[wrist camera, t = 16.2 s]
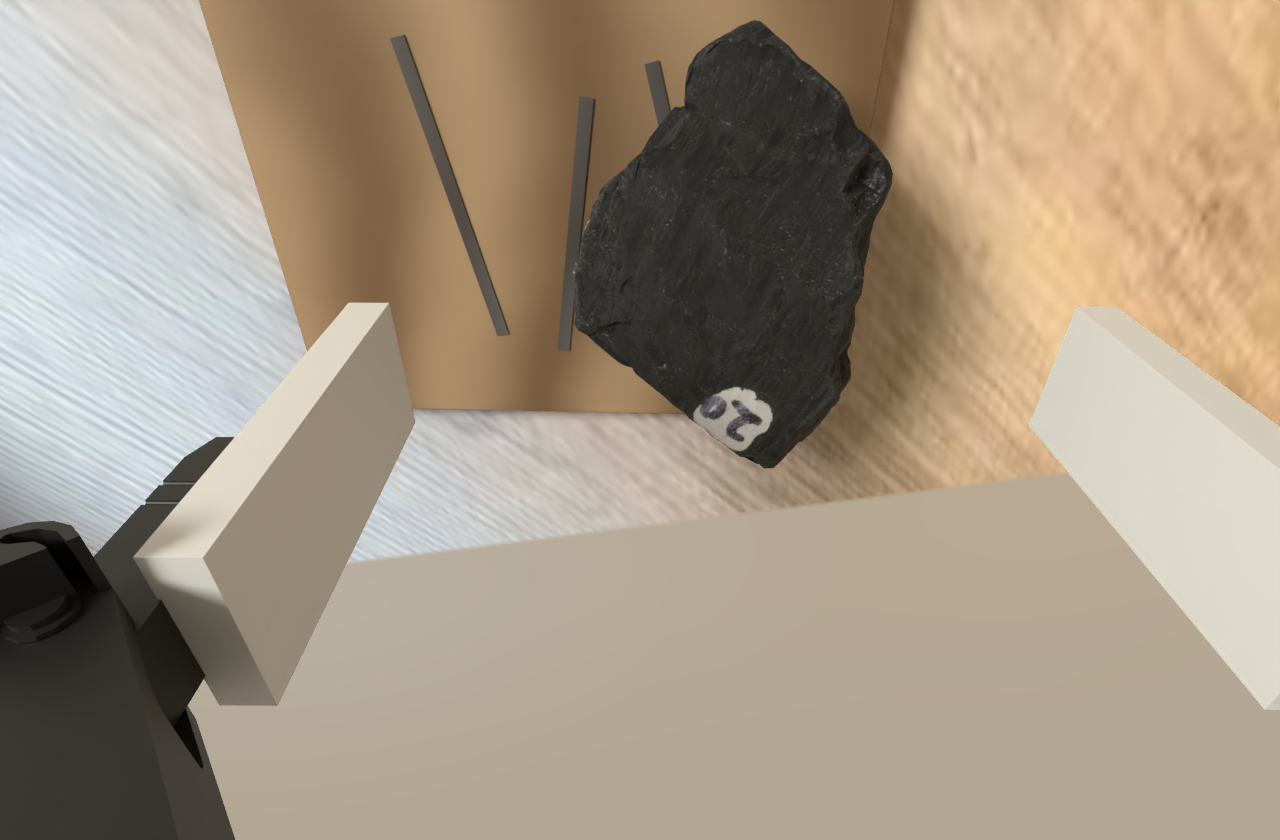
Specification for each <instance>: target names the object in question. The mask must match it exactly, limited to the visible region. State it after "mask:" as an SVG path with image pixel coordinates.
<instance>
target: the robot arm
mask: <svg viewBox="0 0 1280 840" xmlns="http://www.w3.org/2000/svg"><path fill="white" fill-rule="evenodd" d="M414 424H415V418H414V414H413V409H412V405H411V400H410V395H409V391H408V386H407V382H406V377H405V373H404V368H403V364H402V359H401V355H400V350H399V346H398V341H397V337H396V332H395V328H394V323H393V318H392V314H391V309H390V305H389V303H348V304H347V305H346V307H345V308H344V309H343V310H342V311H341V312H340V314H339V315H338V316H337V317H336V318H335V320H334V321H333V322H332V323H331V324H330V325H329V327H328V328H327V329H326V330H325V331H324V332H323V334H322V335H321V336H320V337H319V338H318V340H317V341H316V342H315V343H314V344H313V345H312V347H311V348H310V349H309V350H308V351H307V353H306V354H305V355H304V356H303V357H302V358H301V360H300V361H299V362H298V363H297V364H296V366H295V367H294V368H293V369H292V370H291V371H290V373H289V374H288V375H287V376H286V377H285V379H284V380H283V381H282V382H281V383H280V384H279V386H278V387H277V388H276V389H275V390H274V391H273V393H272V394H271V395H270V396H269V397H268V399H267V400H266V401H265V402H264V403H263V404H262V406H261V407H260V408H259V409H258V410H257V412H256V413H255V414H254V415H253V416H252V417H251V419H250V420H249V421H248V422H247V423H246V425H245V426H244V427H243V428H242V429H241V430H240V432H239V433H238V434H237V435H236V436H235V437H216V438H214V439H213V440H211V441H210V442H208V443H206V444H205V445H203V446H202V447H200V448H198V449H197V450H195V451H194V452H192V453H191V454H189V455H187V456H186V457H184V459H183V460H182V461H181V462H180V463H179V464H178V465H177V466H176V467H175V468H174V469H173V471H172V472H171V473H170V474H169V475H168V476H167V477H166V478H165V479H164V480H163V482H164V483H163V485H159V486H158V487H157V488H156V489H155V490H154V491H153V492H152V494H151V495H150V496H149V497H148V498H147V499H146V504H145V505H141V506H140V507H139V508H138V509H137V510H136V511H135V512H134V513H133V514H132V515H131V517H130V518H129V519H128V520H127V521H126V522H125V523H124V524H123V525H122V526H121V527H120V529H119V530H118V531H117V532H116V533H115V534H114V535H113V536H112V537H111V538H110V540H109V541H108V542H107V543H106V544H105V545H104V546H103V547H102V548H101V549H100V550H99V552H98V553H97V554H96V555H95V556H94V557H93V556H92V554H91V553H90V551H89V550H88V548H87V547H86V545H85V543H84V542H83V540H82V539H81V537H80V536H79V534H78V533H77V532H76V531H75V529H74V528H73V527H72V526H71V525H67V524H63V523H59V522H56V521H47V522H32V523H26V524H22V525H18V526H15V527H11V528H7V529H3V530H0V840H235V837H234V834H233V831H232V829H231V825H230V822H229V819H228V816H227V813H226V810H225V807H224V804H223V801H222V798H221V795H220V792H219V788H218V785H217V782H216V779H215V776H214V773H213V770H212V767H211V764H210V761H209V758H208V755H207V752H206V749H205V746H204V742H203V739H202V736H201V733H200V730H199V727H198V724H197V721H196V719H195V717H194V715H193V714H192V712H191V711H190V709H189V707H188V706H187V705H188V704H189V702H190V700H191V699H192V697H193V695H194V694H195V692H196V691H197V689H198V687H199V686H200V684H201V682H202V681H203V679H205V681H206V683H207V685H208V686H209V688H210V690H211V691H212V693H213V695H214V697H215V698H216V700H217V702H218V703H219V705H278V703H279V701H280V699H281V697H282V695H283V693H284V691H285V689H286V687H287V685H288V683H289V681H290V679H291V676H292V674H293V672H294V670H295V668H296V666H297V664H298V662H299V660H300V658H301V656H302V654H303V652H304V650H305V648H306V646H307V644H308V641H309V639H310V637H311V635H312V633H313V631H314V629H315V627H316V625H317V623H318V621H319V619H320V617H321V615H322V613H323V611H324V608H325V607H326V605H327V602H328V600H329V598H330V596H331V594H332V592H333V590H334V588H335V586H336V584H337V582H338V580H339V578H340V576H341V574H342V572H343V569H344V568H345V565H346V563H347V561H348V559H349V557H350V555H351V553H352V551H353V549H354V547H355V545H356V543H357V541H358V539H359V537H360V535H361V533H362V531H363V528H364V526H365V524H366V522H367V520H368V518H369V516H370V514H371V512H372V510H373V508H374V506H375V504H376V502H377V500H378V498H379V496H380V494H381V492H382V489H383V487H384V485H385V483H386V481H387V479H388V477H389V475H390V473H391V471H392V469H393V467H394V465H395V463H396V461H397V459H398V457H399V455H400V452H401V450H402V448H403V446H404V444H405V442H406V440H407V438H408V436H409V434H410V432H411V430H412V428H413V426H414ZM1029 426H1030V427H1031V428H1032V430H1033V431H1034V432H1035V433H1036V434H1037V436H1038V437H1039V438H1040V439H1041V440H1042V442H1043V443H1044V444H1045V445H1046V446H1047V448H1048V449H1049V450H1050V451H1051V452H1052V454H1053V455H1054V456H1055V457H1056V458H1057V460H1058V461H1059V462H1060V463H1061V465H1062V466H1063V467H1064V468H1065V469H1066V471H1067V472H1068V473H1069V474H1070V475H1071V477H1072V478H1073V479H1074V480H1075V481H1076V483H1077V484H1078V485H1079V486H1080V487H1081V489H1082V490H1083V491H1084V492H1085V493H1086V495H1087V496H1088V497H1089V498H1090V500H1091V501H1092V502H1093V503H1094V504H1095V506H1096V507H1097V508H1098V509H1099V510H1100V512H1101V513H1102V514H1103V515H1104V516H1105V518H1106V519H1107V520H1108V521H1109V522H1110V524H1111V525H1112V526H1113V527H1114V528H1115V530H1116V531H1117V532H1118V533H1119V535H1121V537H1122V538H1123V539H1124V541H1125V542H1126V543H1127V544H1128V545H1129V546H1130V548H1131V549H1132V550H1133V551H1134V552H1135V554H1136V555H1137V556H1138V557H1139V559H1140V560H1141V561H1142V562H1143V564H1144V565H1145V566H1146V567H1147V568H1148V569H1149V571H1150V572H1151V573H1152V574H1153V576H1154V577H1155V578H1156V579H1157V580H1158V582H1159V583H1160V584H1161V585H1162V586H1163V588H1164V589H1165V590H1166V591H1167V592H1168V594H1169V595H1170V596H1171V597H1172V598H1173V599H1174V601H1175V602H1176V603H1177V605H1178V606H1179V607H1180V608H1181V609H1182V611H1183V612H1184V613H1185V614H1186V615H1187V616H1188V618H1189V619H1190V620H1191V621H1192V623H1193V624H1194V625H1195V626H1196V627H1197V629H1198V630H1199V631H1200V632H1201V634H1203V636H1204V637H1205V638H1206V639H1207V641H1208V642H1209V643H1210V644H1211V646H1212V647H1213V648H1214V649H1215V650H1216V652H1217V653H1218V654H1219V655H1220V656H1221V657H1222V659H1223V660H1224V661H1225V663H1226V664H1227V665H1228V666H1229V667H1230V668H1231V670H1232V671H1233V672H1234V673H1235V675H1236V676H1237V677H1238V678H1239V679H1240V681H1241V682H1242V683H1243V684H1244V685H1245V687H1246V688H1247V689H1248V690H1249V691H1250V692H1251V694H1252V695H1253V696H1254V698H1255V699H1256V700H1257V701H1258V702H1259V703H1260V705H1261V706H1262V707H1263V708H1264V710H1280V427H1279V426H1278V425H1276V424H1275V423H1274V422H1272V421H1271V420H1270V419H1268V418H1267V417H1266V416H1264V415H1263V414H1261V413H1260V412H1259V411H1257V410H1256V409H1255V408H1253V407H1252V406H1251V405H1249V404H1248V403H1247V402H1245V401H1244V400H1242V399H1241V398H1240V397H1238V396H1237V395H1236V394H1234V393H1233V392H1232V391H1230V390H1229V389H1227V388H1226V387H1225V386H1223V385H1222V384H1221V383H1219V382H1218V381H1217V380H1215V379H1214V378H1213V377H1211V376H1210V375H1208V374H1207V373H1206V372H1204V371H1203V370H1202V369H1200V368H1199V367H1198V366H1196V365H1195V364H1193V363H1192V362H1191V361H1189V360H1188V359H1187V358H1185V357H1184V356H1183V355H1181V354H1180V353H1179V352H1177V351H1176V350H1174V349H1173V348H1172V347H1170V346H1169V345H1168V344H1166V343H1165V342H1164V341H1162V340H1161V339H1160V338H1158V337H1157V336H1155V335H1154V334H1153V333H1151V332H1150V331H1149V330H1147V329H1146V328H1145V327H1143V326H1142V325H1140V324H1139V323H1138V322H1136V321H1135V320H1134V319H1132V318H1131V317H1130V316H1128V315H1127V314H1126V313H1124V312H1123V311H1121V310H1120V309H1119V308H1117V307H1076V310H1075V312H1074V315H1073V317H1072V320H1071V322H1070V325H1069V327H1068V330H1067V332H1066V335H1065V337H1064V339H1063V342H1062V344H1061V347H1060V349H1059V352H1058V354H1057V357H1056V359H1055V362H1054V364H1053V367H1052V369H1051V372H1050V374H1049V377H1048V379H1047V382H1046V384H1045V387H1044V389H1043V392H1042V394H1041V397H1040V399H1039V402H1038V404H1037V407H1036V409H1035V412H1034V414H1033V417H1032V419H1031V422H1030V424H1029Z"/></svg>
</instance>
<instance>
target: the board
mask: <svg viewBox="0 0 1280 840" xmlns="http://www.w3.org/2000/svg"><path fill="white" fill-rule="evenodd" d="M199 2H200V5H201V9H202V12H203V15H204V18H205V22H206V25H207V28H208V31H209V34H210V38H211V41H212V44H213V47H214V51H215V54H216V57H217V60H218V64H219V67H220V70H221V73H222V77H223V80H224V83H225V86H226V90H227V93H228V96H229V99H230V103H231V106H232V109H233V112H234V115H235V119H236V122H237V125H238V128H239V132H240V135H241V138H242V141H243V145H244V148H245V151H246V154H247V158H248V161H249V164H250V167H251V171H252V174H253V177H254V180H255V184H256V187H257V190H258V193H259V196H260V200H261V203H262V206H263V209H264V213H265V216H266V219H267V222H268V226H269V229H270V232H271V235H272V239H273V242H274V245H275V248H276V252H277V255H278V258H279V261H280V264H281V268H282V271H283V274H284V277H285V281H286V284H287V287H288V290H289V294H290V297H291V300H292V303H293V307H294V310H295V313H296V316H297V320H298V323H299V326H300V329H301V333H302V336H303V339H304V342H305V345H306V349H307V351H308V350H309V349H310V348H311V347H312V345H313V344H314V343H315V342H316V341H317V340H318V338H319V337H320V336H321V335H322V334H323V332H324V331H325V330H326V329H327V328H328V327H329V325H330V324H331V323H332V322H333V321H334V320H335V318H336V317H337V316H338V315H339V314H340V312H341V311H342V310H343V309H344V308H345V307H346V305H347V304H348V303H389V305H390V309H391V314H392V318H393V323H394V328H395V332H396V337H397V341H398V346H399V350H400V355H401V359H402V364H403V368H404V373H405V377H406V382H407V386H408V391H409V395H410V400H411V405H412V408H422V409H475V410H528V411H581V412H633V413H684V412H682V411H681V410H679V409H678V408H676V407H675V406H674V405H672V404H671V403H670V402H669V401H668V400H667V399H666V398H665V397H664V396H663V395H661V394H660V393H659V392H658V391H656V390H655V389H654V388H653V387H651V386H650V385H649V384H648V383H646V382H645V381H644V380H643V379H641V378H640V377H639V376H638V375H636V373H635V372H634V371H633V368H631V367H627V366H625V365H622V364H620V363H619V362H617V361H616V360H615V359H614V358H613V357H611V356H610V355H609V354H608V353H606V352H605V351H604V350H603V349H602V348H600V347H599V346H598V345H597V344H596V343H595V342H594V341H592V340H591V339H590V338H589V337H588V336H587V335H586V334H584V333H582V332H580V331H578V330H577V328H576V327H575V325H574V323H575V316H576V313H575V303H574V297H575V293H576V287H575V282H574V278H573V270H574V264H575V262H576V261H577V260H578V258H579V254H580V248H581V241H582V233H583V230H584V226H585V224H586V222H587V220H588V219H589V217H590V215H591V210H592V206H593V205H594V203H595V201H596V200H597V198H598V196H599V192H600V190H601V189H602V188H603V186H604V185H605V184H606V183H607V182H608V181H610V180H611V179H612V178H613V177H615V176H616V175H617V174H618V173H620V172H621V171H622V170H623V169H625V168H626V167H627V165H628V163H629V162H630V161H631V160H633V159H634V158H635V157H636V156H638V155H639V154H640V153H641V152H642V150H643V148H644V147H645V145H646V143H647V141H648V139H649V137H650V136H651V135H652V134H653V133H654V131H655V130H656V129H657V128H658V126H659V125H660V124H661V123H662V122H663V120H664V119H665V118H666V117H667V115H668V114H669V113H670V112H671V110H672V109H673V108H674V107H682V106H685V104H684V98H685V82H686V76H687V71H688V67H689V65H690V64H691V62H692V61H693V59H694V57H695V56H696V54H697V53H698V52H699V51H700V50H702V49H703V48H704V47H705V46H706V45H708V44H709V43H711V42H712V41H714V40H716V39H718V38H719V37H721V36H723V35H725V34H726V33H729V32H731V31H732V30H734V29H735V28H737V27H738V26H741V25H743V24H745V23H748V22H750V21H753V20H756V21H761V22H762V23H763V24H765V25H766V26H767V27H768V28H769V29H770V30H771V31H772V32H773V33H774V34H775V35H777V36H778V37H779V38H780V39H782V40H783V41H784V42H785V43H786V44H788V45H789V46H790V47H791V49H792V50H793V51H794V52H795V53H796V55H797V56H798V57H799V58H800V59H801V60H803V61H804V62H806V63H807V64H809V65H811V66H812V67H813V68H814V69H815V70H816V71H817V72H818V73H820V74H821V75H822V76H823V77H824V78H825V79H827V80H828V81H829V82H830V83H831V84H832V85H833V86H834V87H835V88H836V89H838V90H839V91H840V93H841V94H842V96H843V98H844V99H845V101H846V102H847V104H848V107H849V110H850V113H851V116H852V118H853V120H854V122H855V124H856V126H857V128H858V129H860V130H861V131H862V132H864V133H865V134H866V135H867V136H868V137H869V132H870V127H871V122H872V116H873V111H874V105H875V100H876V95H877V89H878V84H879V78H880V73H881V68H882V62H883V57H884V51H885V46H886V41H887V35H888V30H889V24H890V19H891V14H892V8H893V3H894V0H199Z"/></svg>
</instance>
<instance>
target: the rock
mask: <svg viewBox="0 0 1280 840" xmlns="http://www.w3.org/2000/svg"><path fill="white" fill-rule="evenodd" d="M684 104H685V106H682V107H674V108H673V109H672V110H671V112H670V113H669V114H668V115H667V117H666V118H665V119H664V120H663V122H662V123H661V124H660V125H659V126H658V128H657V129H656V130H655V131H654V133H653V134H652V135H651V136H650V137H649V139H648V141H647V143H646V145H645V147H644V148H643V150H642V152H641V153H640V154H639V155H638V156H636V157H635V158H634V159H633V160H631V161H630V162H629V163H628V165H627V167H626V168H625V169H623V170H622V171H621V172H620V173H618V174H617V175H616V176H615V177H613V178H612V179H611V180H610V181H608V182H607V183H606V184H605V185H604V186H603V188H602V189H601V190H600V192H599V196H598V198H597V200H596V201H595V203H594V205H593V206H592V210H591V215H590V217H589V219H588V220H587V222H586V224H585V226H584V230H583V233H582V241H581V248H580V254H579V258H578V260H577V261H576V262H575V264H574V270H573V278H574V282H575V287H576V293H575V297H574V303H575V313H576V316H575V323H574V325H575V327H576V328H577V330H578V331H580V332H582V333H584V334H586V335H587V336H588V337H589V338H590V339H591V340H592V341H594V342H595V343H596V344H597V345H598V346H599V347H600V348H602V349H603V350H604V351H605V352H606V353H608V354H609V355H610V356H611V357H613V358H614V359H615V360H616V361H617V362H619V363H620V364H622V365H625V366H627V367H631V368H633V371H634V372H635V373H636V375H638V376H639V377H640V378H641V379H643V380H644V381H645V382H646V383H648V384H649V385H650V386H651V387H653V388H654V389H655V390H656V391H658V392H659V393H660V394H661V395H663V396H664V397H665V398H666V399H667V400H668V401H669V402H670V403H671V404H672V405H674V406H675V407H676V408H678V409H679V410H681V411H682V412H684V413H685V414H686V415H687V416H688V417H689V418H690V419H691V420H692V421H694V422H695V423H697V424H698V425H700V426H701V427H702V428H704V429H705V430H706V431H707V432H708V433H709V434H710V435H711V436H712V437H714V438H716V439H717V440H719V441H720V442H722V443H723V444H724V445H726V446H727V447H728V448H729V449H731V450H732V451H733V452H735V453H736V454H737V455H739V456H740V457H745V458H747V459H749V460H751V461H753V462H755V463H757V464H760V465H761V466H762V467H763V468H764V469H765V468H774V467H775V466H776V465H777V464H778V463H779V462H780V461H781V460H782V459H783V458H784V457H785V456H786V455H787V454H788V453H789V452H790V451H791V450H792V449H793V448H794V446H795V445H796V444H797V443H798V442H801V441H803V440H804V439H805V438H806V437H807V436H809V435H810V433H811V432H812V431H813V430H814V429H815V428H816V427H817V426H818V425H819V423H820V422H821V421H822V420H823V419H824V418H825V416H826V415H827V414H828V413H829V411H830V409H831V408H832V407H833V406H835V404H836V403H837V402H838V400H839V398H840V393H841V391H842V390H843V389H844V387H845V386H846V385H847V383H848V381H849V380H850V376H851V369H850V364H851V363H850V360H849V357H848V355H847V350H848V348H849V346H850V344H851V337H852V333H853V329H854V326H855V304H856V303H857V302H858V300H859V297H860V295H861V292H862V286H863V277H864V265H865V262H866V258H867V253H868V249H869V243H870V234H871V230H872V226H873V222H874V220H875V218H876V216H877V214H878V212H879V211H880V209H881V207H882V206H883V204H884V202H885V199H886V197H887V194H888V192H889V189H890V187H891V184H892V175H893V173H892V169H891V166H890V164H889V162H888V161H887V160H886V158H885V157H884V155H883V154H882V153H881V151H880V150H879V148H878V147H877V145H876V144H875V143H874V142H873V141H872V140H871V139H870V138H869V137H868V136H867V135H866V134H865V133H864V132H862V131H861V130H860V129H858V128H857V126H856V124H855V122H854V120H853V118H852V116H851V113H850V110H849V107H848V104H847V102H846V101H845V99H844V98H843V96H842V94H841V93H840V91H839V90H838V89H836V88H835V87H834V86H833V85H832V84H831V83H830V82H829V81H828V80H827V79H825V78H824V77H823V76H822V75H821V74H820V73H818V72H817V71H816V70H815V69H814V68H813V67H812V66H811V65H809V64H807V63H806V62H804V61H803V60H801V59H800V58H799V57H798V56H797V55H796V53H795V52H794V51H793V50H792V49H791V47H790V46H789V45H788V44H786V43H785V42H784V41H783V40H782V39H780V38H779V37H778V36H777V35H775V34H774V33H773V32H772V31H771V30H770V29H769V28H768V27H767V26H766V25H765V24H763V23H762V22H761V21H756V20H753V21H750V22H748V23H745V24H743V25H741V26H738V27H737V28H735V29H734V30H732V31H731V32H729V33H726V34H725V35H723V36H721V37H719V38H718V39H716V40H714V41H712V42H711V43H709V44H708V45H706V46H705V47H704V48H703V49H702V50H700V51H699V52H698V53H697V54H696V56H695V57H694V59H693V61H692V62H691V64H690V65H689V67H688V71H687V76H686V82H685V98H684Z"/></svg>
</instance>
